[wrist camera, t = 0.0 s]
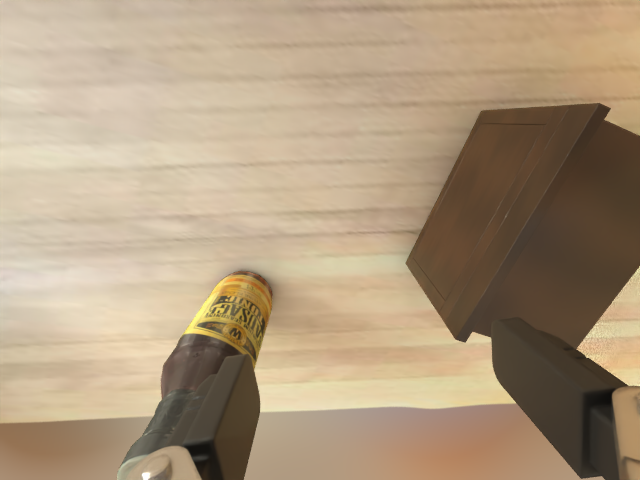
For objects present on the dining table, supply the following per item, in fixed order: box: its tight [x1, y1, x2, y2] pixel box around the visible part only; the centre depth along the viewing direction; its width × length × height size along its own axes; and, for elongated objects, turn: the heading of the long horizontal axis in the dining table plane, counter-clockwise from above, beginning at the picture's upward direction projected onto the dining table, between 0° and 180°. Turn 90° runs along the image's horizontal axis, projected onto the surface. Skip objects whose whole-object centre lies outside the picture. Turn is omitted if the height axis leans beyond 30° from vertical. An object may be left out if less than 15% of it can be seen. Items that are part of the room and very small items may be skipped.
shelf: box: [406, 103, 640, 350], centre depth 26 cm, size 16×11×13 cm
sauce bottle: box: [117, 271, 272, 480], centre depth 26 cm, size 6×6×20 cm
